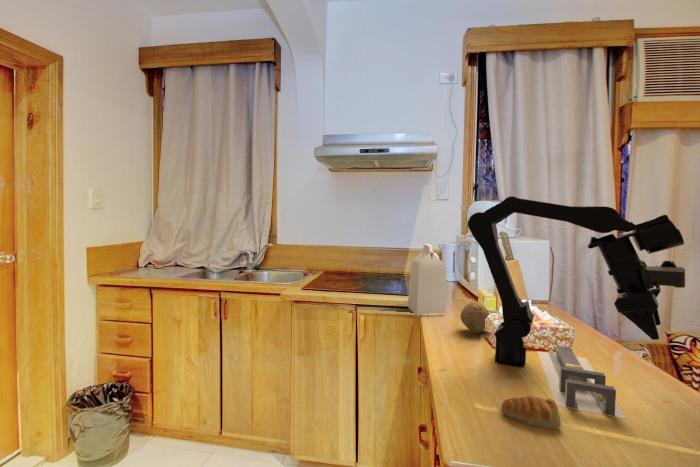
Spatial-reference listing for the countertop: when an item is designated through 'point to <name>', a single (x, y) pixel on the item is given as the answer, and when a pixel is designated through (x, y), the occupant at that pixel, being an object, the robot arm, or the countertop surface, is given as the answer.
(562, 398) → the base with arch frames
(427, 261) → the milk
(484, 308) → the brown coconut
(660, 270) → the robot arm
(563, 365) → the long grey bar
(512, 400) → the pastry
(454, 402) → the countertop surface
